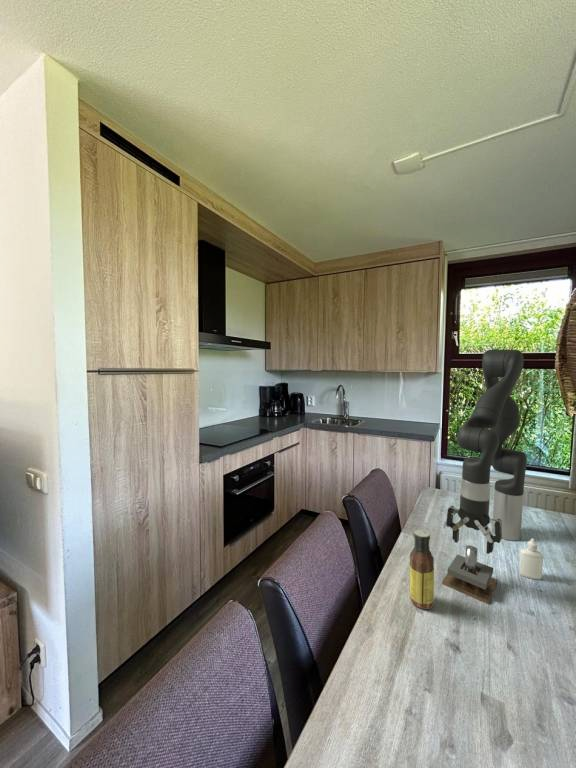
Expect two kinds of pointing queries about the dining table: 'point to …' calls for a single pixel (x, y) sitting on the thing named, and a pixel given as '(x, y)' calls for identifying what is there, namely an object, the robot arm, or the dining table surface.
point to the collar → (477, 580)
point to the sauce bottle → (421, 571)
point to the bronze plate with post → (467, 587)
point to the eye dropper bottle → (531, 561)
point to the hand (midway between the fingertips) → (472, 546)
